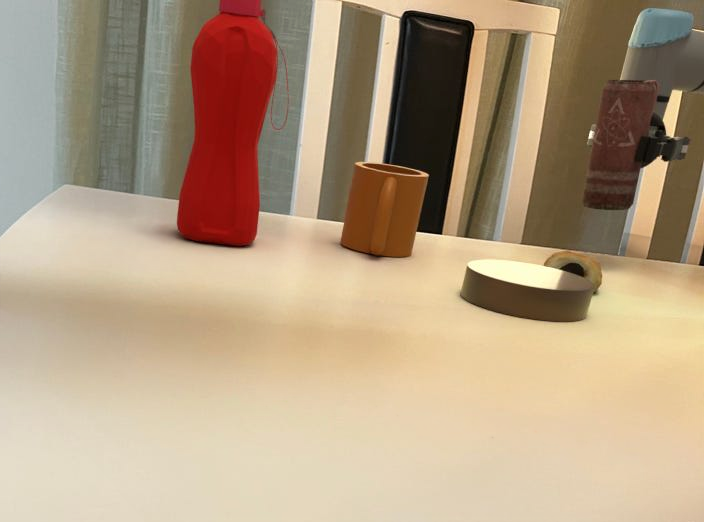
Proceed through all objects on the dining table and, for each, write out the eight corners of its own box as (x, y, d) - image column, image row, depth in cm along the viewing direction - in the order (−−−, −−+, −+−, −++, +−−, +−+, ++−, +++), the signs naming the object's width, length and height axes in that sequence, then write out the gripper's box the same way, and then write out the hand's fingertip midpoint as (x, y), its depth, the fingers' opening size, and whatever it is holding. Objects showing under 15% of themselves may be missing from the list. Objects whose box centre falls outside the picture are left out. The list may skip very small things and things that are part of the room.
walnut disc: (613, 320, 103) (622, 290, 101) (519, 323, 97) (527, 291, 95) (525, 287, 112) (533, 259, 111) (435, 288, 106) (441, 258, 105)
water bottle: (271, 253, 112) (306, -12, 99) (173, 240, 112) (196, -27, 99) (269, 237, 120) (301, -9, 107) (178, 226, 120) (199, -23, 107)
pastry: (542, 272, 121) (551, 239, 119) (598, 283, 120) (609, 250, 118) (537, 286, 113) (546, 251, 111) (597, 298, 112) (609, 262, 110)
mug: (324, 251, 117) (338, 167, 112) (349, 237, 127) (363, 159, 122) (399, 265, 115) (416, 180, 110) (419, 250, 125) (435, 171, 120)
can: (641, 210, 124) (669, 81, 117) (591, 210, 124) (615, 80, 116) (623, 203, 129) (648, 78, 122) (574, 203, 129) (597, 78, 122)
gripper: (675, 175, 140) (693, 192, 121) (577, 160, 143) (579, 175, 123) (694, 115, 136) (716, 123, 117) (593, 101, 139) (598, 106, 119)
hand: (646, 150), depth 120 cm, fingers closed on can
